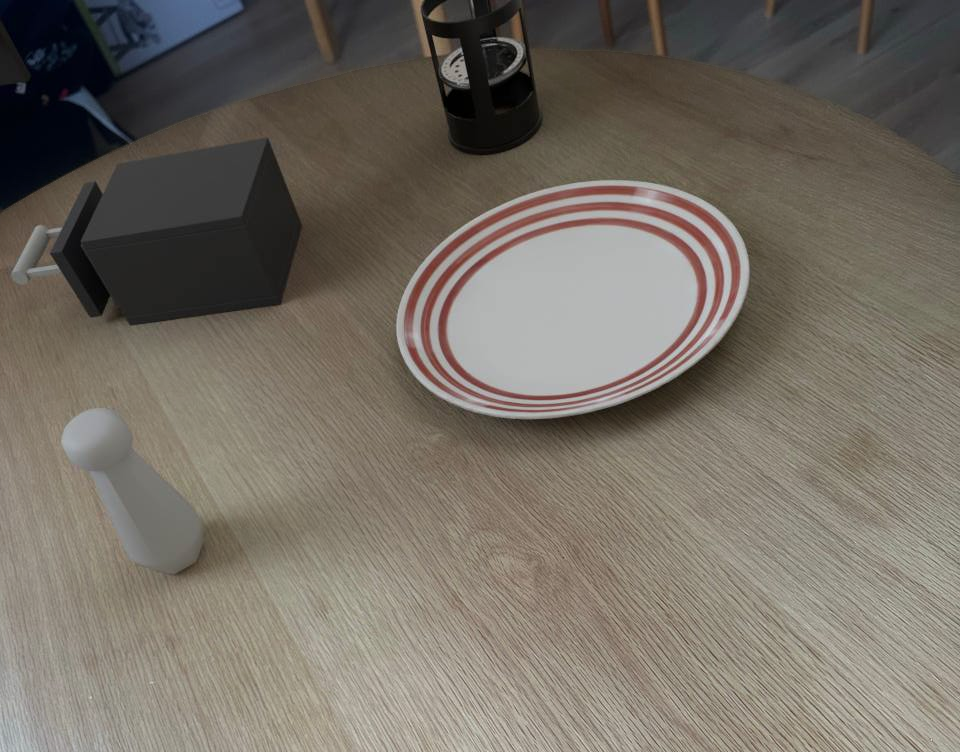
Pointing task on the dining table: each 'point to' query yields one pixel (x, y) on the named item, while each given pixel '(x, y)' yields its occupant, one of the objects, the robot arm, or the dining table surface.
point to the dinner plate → (573, 299)
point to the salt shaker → (134, 493)
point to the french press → (485, 79)
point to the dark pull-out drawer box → (68, 254)
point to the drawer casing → (195, 233)
